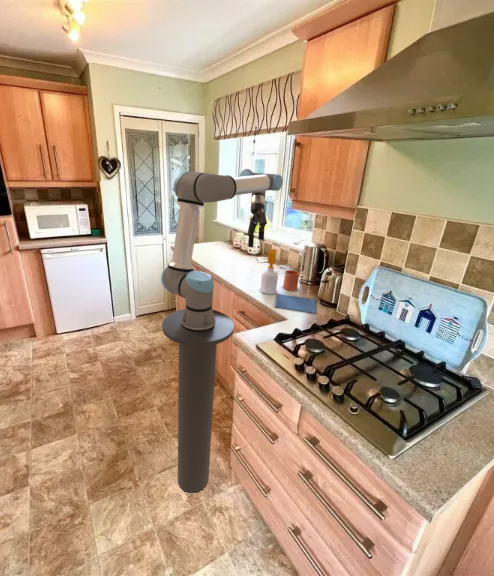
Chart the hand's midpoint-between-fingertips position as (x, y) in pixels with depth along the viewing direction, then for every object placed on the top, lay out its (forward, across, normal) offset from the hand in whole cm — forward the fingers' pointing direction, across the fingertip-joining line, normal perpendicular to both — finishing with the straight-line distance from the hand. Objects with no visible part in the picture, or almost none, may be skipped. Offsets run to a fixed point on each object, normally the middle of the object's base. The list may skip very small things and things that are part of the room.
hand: (255, 243), depth 159 cm
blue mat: (+29, 0, -25) cm, 38 cm away
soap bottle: (+21, +17, -16) cm, 31 cm away
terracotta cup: (+17, +18, -31) cm, 40 cm away
